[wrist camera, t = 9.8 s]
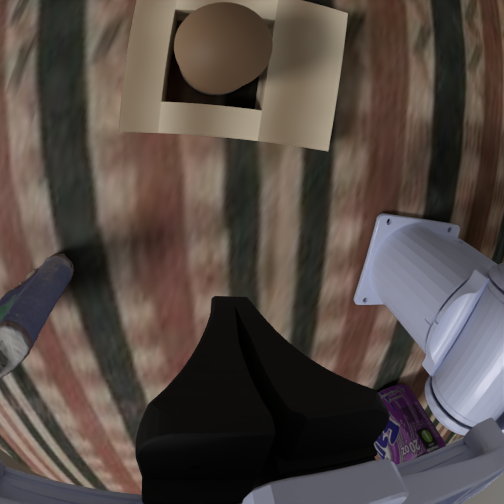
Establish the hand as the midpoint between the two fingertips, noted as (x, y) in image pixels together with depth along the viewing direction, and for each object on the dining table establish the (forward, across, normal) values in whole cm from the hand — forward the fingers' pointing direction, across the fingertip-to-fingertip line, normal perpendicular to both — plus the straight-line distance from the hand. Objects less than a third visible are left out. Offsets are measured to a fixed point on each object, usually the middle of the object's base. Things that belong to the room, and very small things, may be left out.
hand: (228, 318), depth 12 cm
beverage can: (+11, -22, +21) cm, 32 cm away
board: (+10, 0, -10) cm, 15 cm away
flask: (+11, +14, +6) cm, 19 cm away
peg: (+10, +1, -10) cm, 15 cm away
